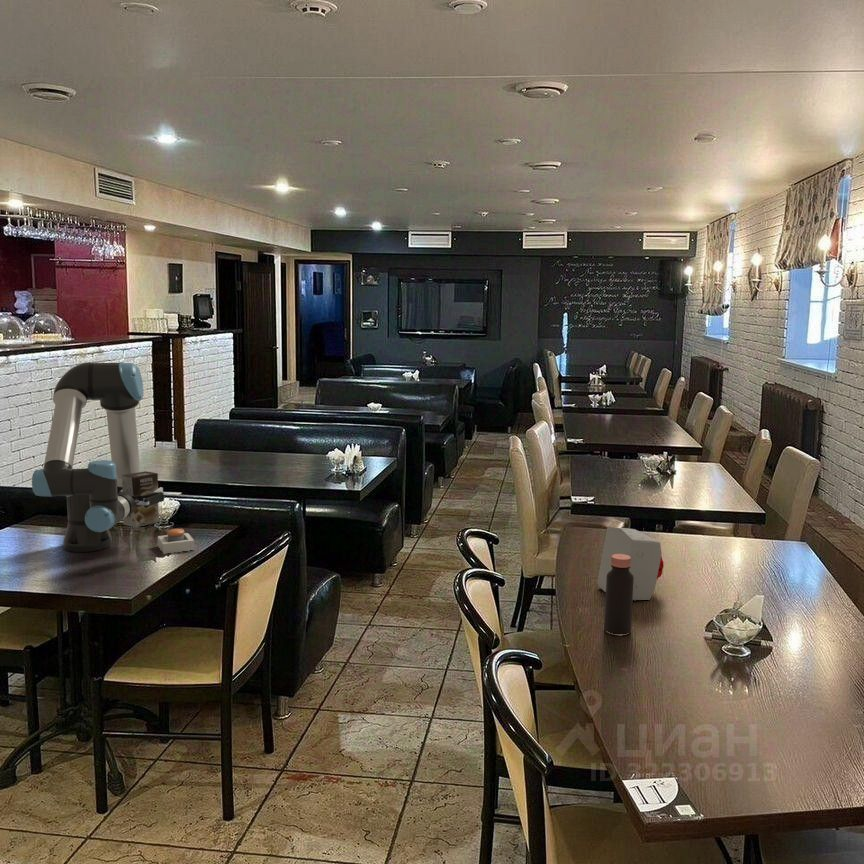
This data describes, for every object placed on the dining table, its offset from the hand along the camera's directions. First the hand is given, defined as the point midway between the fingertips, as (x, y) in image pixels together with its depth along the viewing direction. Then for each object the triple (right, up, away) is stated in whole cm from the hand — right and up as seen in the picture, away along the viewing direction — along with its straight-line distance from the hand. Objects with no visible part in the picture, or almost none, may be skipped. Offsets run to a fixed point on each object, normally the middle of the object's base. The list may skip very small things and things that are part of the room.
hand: (145, 491), depth 276 cm
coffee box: (0, -10, -3) cm, 11 cm away
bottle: (+140, -33, -56) cm, 154 cm away
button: (+7, -19, +10) cm, 23 cm away
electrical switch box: (+151, -28, -27) cm, 156 cm away
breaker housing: (+7, -20, +10) cm, 23 cm away
